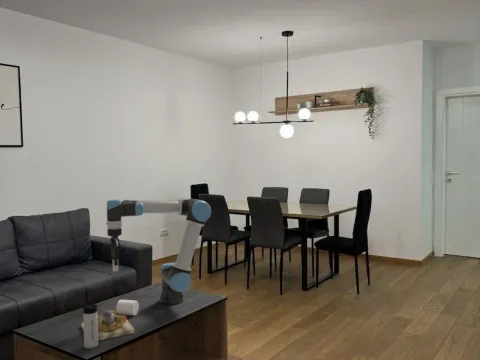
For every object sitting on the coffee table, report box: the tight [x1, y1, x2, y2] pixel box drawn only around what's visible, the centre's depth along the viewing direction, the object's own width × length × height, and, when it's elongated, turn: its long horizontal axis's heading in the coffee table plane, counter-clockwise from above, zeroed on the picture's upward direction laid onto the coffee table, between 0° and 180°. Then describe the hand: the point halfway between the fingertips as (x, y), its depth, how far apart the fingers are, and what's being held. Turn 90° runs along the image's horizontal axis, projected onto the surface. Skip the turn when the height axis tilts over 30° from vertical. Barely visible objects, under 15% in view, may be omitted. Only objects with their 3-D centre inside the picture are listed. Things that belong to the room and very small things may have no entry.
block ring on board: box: [80, 309, 135, 341], centre depth 225 cm, size 22×22×10 cm
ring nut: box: [97, 309, 127, 331], centre depth 226 cm, size 16×18×5 cm
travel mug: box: [82, 303, 99, 350], centre depth 206 cm, size 6×7×20 cm
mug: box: [115, 299, 140, 316], centre depth 249 cm, size 12×10×8 cm
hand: (115, 270), depth 240 cm, fingers closed
